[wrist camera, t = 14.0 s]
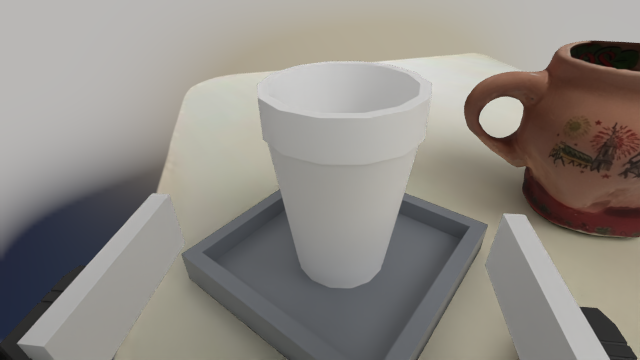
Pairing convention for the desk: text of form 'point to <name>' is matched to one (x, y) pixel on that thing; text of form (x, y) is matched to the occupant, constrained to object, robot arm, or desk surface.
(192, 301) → the desk surface
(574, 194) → the sculpted ceramic mug
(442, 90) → the desk surface
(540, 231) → the desk surface
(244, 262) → the charcoal tray
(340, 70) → the foam cup
